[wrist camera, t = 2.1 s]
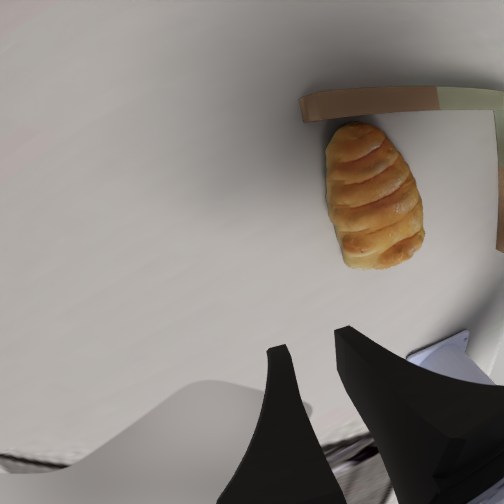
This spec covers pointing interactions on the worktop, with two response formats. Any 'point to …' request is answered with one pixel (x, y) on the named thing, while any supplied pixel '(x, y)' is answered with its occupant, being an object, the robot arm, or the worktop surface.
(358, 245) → the pastry
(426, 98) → the two-tone corner bracket
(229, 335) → the worktop surface
